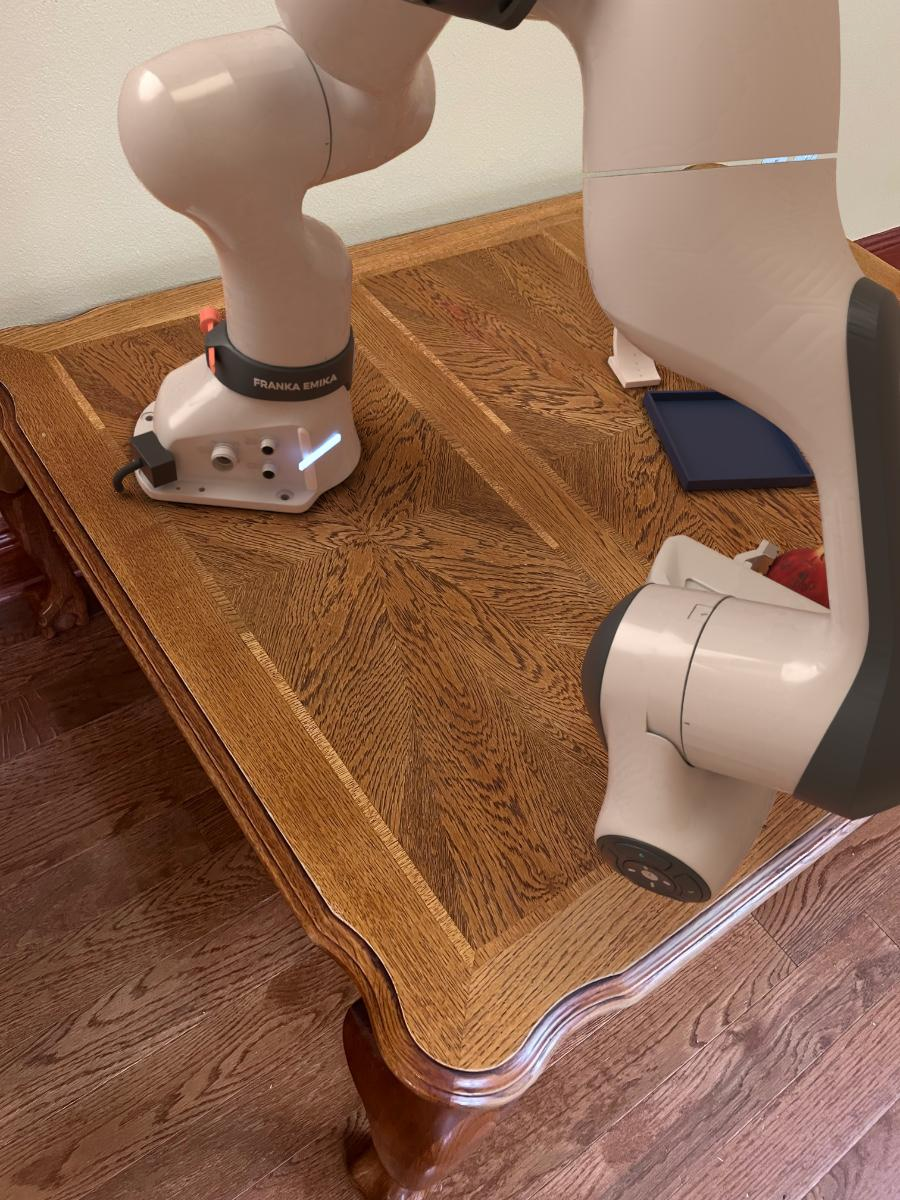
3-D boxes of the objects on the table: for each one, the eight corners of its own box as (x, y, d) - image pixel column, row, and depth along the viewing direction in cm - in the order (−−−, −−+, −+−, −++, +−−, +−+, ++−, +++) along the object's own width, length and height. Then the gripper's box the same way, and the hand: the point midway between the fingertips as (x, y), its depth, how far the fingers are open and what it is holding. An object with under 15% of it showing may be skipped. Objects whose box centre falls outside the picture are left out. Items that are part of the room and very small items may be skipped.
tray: (684, 491, 99) (688, 480, 98) (642, 401, 108) (645, 390, 107) (809, 486, 102) (815, 476, 101) (758, 398, 111) (763, 388, 110)
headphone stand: (624, 388, 109) (653, 297, 100) (604, 357, 113) (630, 266, 104) (659, 384, 111) (691, 295, 102) (638, 353, 114) (667, 264, 105)
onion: (785, 659, 71) (830, 591, 65) (730, 608, 74) (769, 539, 68) (832, 628, 74) (880, 560, 68) (777, 580, 77) (818, 511, 71)
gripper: (921, 748, 58) (968, 610, 66) (626, 588, 63) (703, 479, 71) (873, 797, 62) (923, 663, 70) (602, 645, 68) (678, 536, 76)
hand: (810, 569), depth 71 cm, fingers closed on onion, 5 cm apart
